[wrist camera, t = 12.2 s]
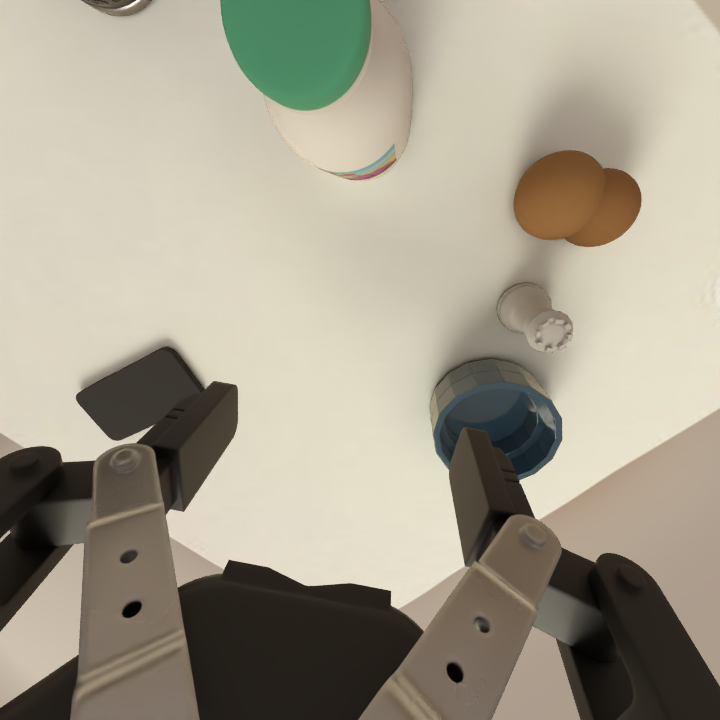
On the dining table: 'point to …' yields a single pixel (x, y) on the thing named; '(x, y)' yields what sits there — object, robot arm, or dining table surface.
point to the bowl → (497, 413)
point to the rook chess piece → (534, 317)
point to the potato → (576, 200)
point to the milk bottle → (328, 78)
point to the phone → (138, 394)
